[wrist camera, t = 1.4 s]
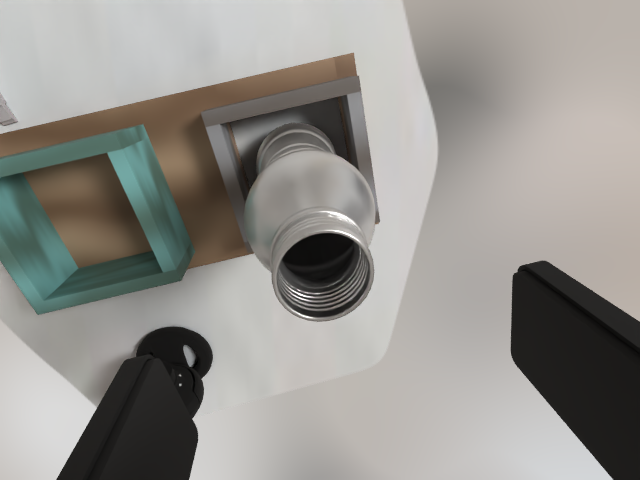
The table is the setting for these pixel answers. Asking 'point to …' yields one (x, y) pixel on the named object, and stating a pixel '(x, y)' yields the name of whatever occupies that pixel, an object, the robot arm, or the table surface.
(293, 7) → the table surface
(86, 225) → the sorting tray
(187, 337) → the webcam
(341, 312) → the metal bottle
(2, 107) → the caliper
